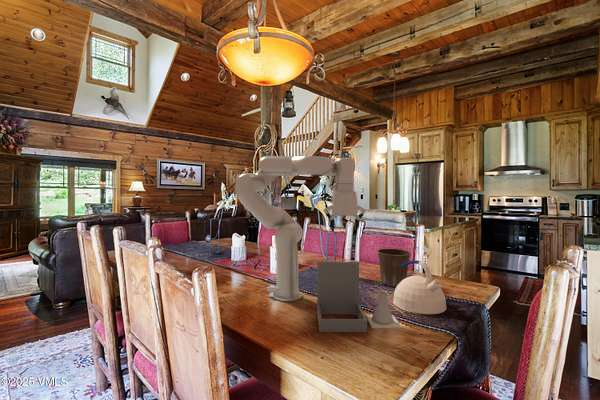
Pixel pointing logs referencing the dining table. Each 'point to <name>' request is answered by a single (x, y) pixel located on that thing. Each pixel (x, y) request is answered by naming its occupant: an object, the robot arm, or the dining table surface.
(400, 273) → the plant pot
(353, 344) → the dining table surface
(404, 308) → the kettle
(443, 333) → the dining table surface
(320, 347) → the dining table surface
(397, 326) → the rubber mat
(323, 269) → the case
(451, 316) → the dining table surface
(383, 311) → the flask
